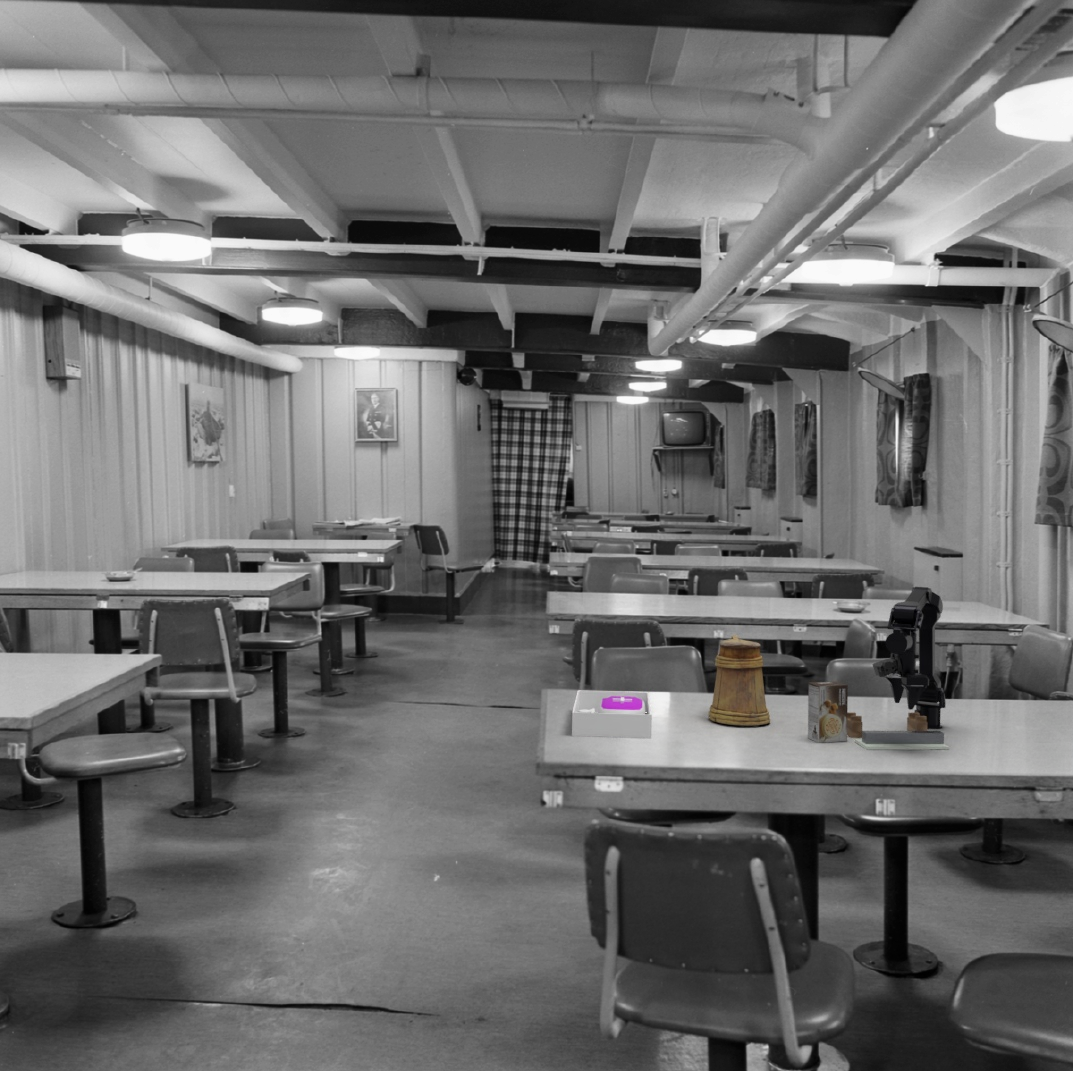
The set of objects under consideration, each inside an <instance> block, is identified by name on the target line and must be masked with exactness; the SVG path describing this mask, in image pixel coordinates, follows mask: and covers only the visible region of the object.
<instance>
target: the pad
mask: <svg viewBox="0 0 1073 1071" xmlns="http://www.w3.org/2000/svg"><path fill="white" fill-rule="evenodd" d="M854 743H856V744H857V745H858V746H860V747H862V748H863V749H865V750H882V751H883V750H885V751H886V750H893V751H894V750H899V751H900V750H901V751H902V750H906V751H907V750H910V751H911V750H917V751H918V750H920V751H921V750H924V751H925V750H930V749H949V750H950V746H948V745H946V744H945V743H944V744H865V743H864V742H862V738H854Z"/></svg>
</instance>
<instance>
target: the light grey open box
mask: <svg viewBox="0 0 1073 1071" xmlns="http://www.w3.org/2000/svg"><path fill="white" fill-rule="evenodd" d="M576 692H577V693H576V697H575V700H574V704H573V708H572V714H571V715H572V717H571V719H572V720H571V737H592V736H609V737H608V738H623V737H624V738H630V739H652V727H653V726H652V719H653V718H652V717H653V716H652V715H653V712H652V706H651V698H650V693H649V692H647V691H620V690H619V691H618V690H617V691H616V690H615V691H612V690H610V691H609V690H580V689H579V690H577V691H576ZM595 710H598V712H595ZM578 711H579V712H578ZM645 712H647V714H645Z"/></svg>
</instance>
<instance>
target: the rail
mask: <svg viewBox="0 0 1073 1071" xmlns="http://www.w3.org/2000/svg"><path fill="white" fill-rule="evenodd" d="M861 739H862V742H864V743H865V744H945V732H943V731H941V730H927V731H907V730H862V738H861Z"/></svg>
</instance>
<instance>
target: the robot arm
mask: <svg viewBox="0 0 1073 1071" xmlns="http://www.w3.org/2000/svg"><path fill="white" fill-rule="evenodd" d="M943 605H944V604H943V601H942V599H941V596H940V595H938V593H937V594H936V593H935V592H934V591H933V590H932V588H930V587H928V586H915V587H913V586H912V588H911V592H910V593H909V595H908V596H907V597H906V599H905V600H904V601H900V602H896V603H895V604H894V605H893V607H891V609H890V613H889V618H888V624H887V630H892V633H890V634H889V635H888V636H887V637H886V639H885V647H886V649H887V650H888V651H889V652H890V657H888V658H886V659H883V660H880V661H877V662H874V663H873V664H872V669H873V672H874V674H875V676H878V677H880V678H884V679H885V680H886V681H887V682H888V683H889V685H890V688H891V692H892V696H893V699H894V703H895V704H900V701H901V700H902V696H903V693H904V691H906V701H907V709H908V710H914V712H913V713H920V716H926V717H927V721H926V722H928V723H927V729H943V726H942V725H941V709H946V703H947V702H946V696H945V692H944V690H943V687H942V683H941V681H942V680H941V679H940V678H939V676H938V675H937V673H936V625H937V623H938V621H939V620H940V618H941V617H942V616H941V614H942V613H943V609H944V608H943ZM917 632H918V636H917ZM917 638H918V640H917ZM917 641H918V654H917ZM917 659H918V660H919V661H918V668H919V669H917ZM914 708H915V709H914Z"/></svg>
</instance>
